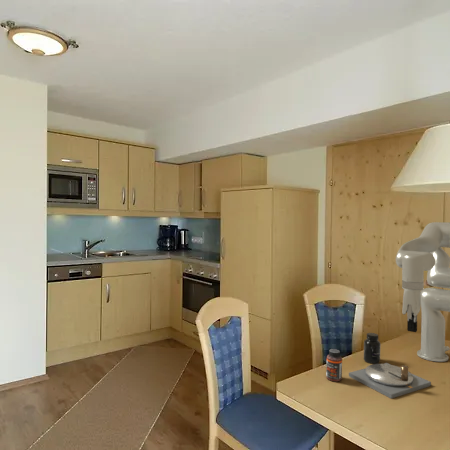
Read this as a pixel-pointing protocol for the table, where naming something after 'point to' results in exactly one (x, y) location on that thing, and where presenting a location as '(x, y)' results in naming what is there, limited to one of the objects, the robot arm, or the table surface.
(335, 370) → the supplement bottle
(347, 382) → the table surface
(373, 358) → the supplement bottle
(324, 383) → the table surface
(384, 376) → the dial
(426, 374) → the table surface
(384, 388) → the base plate
